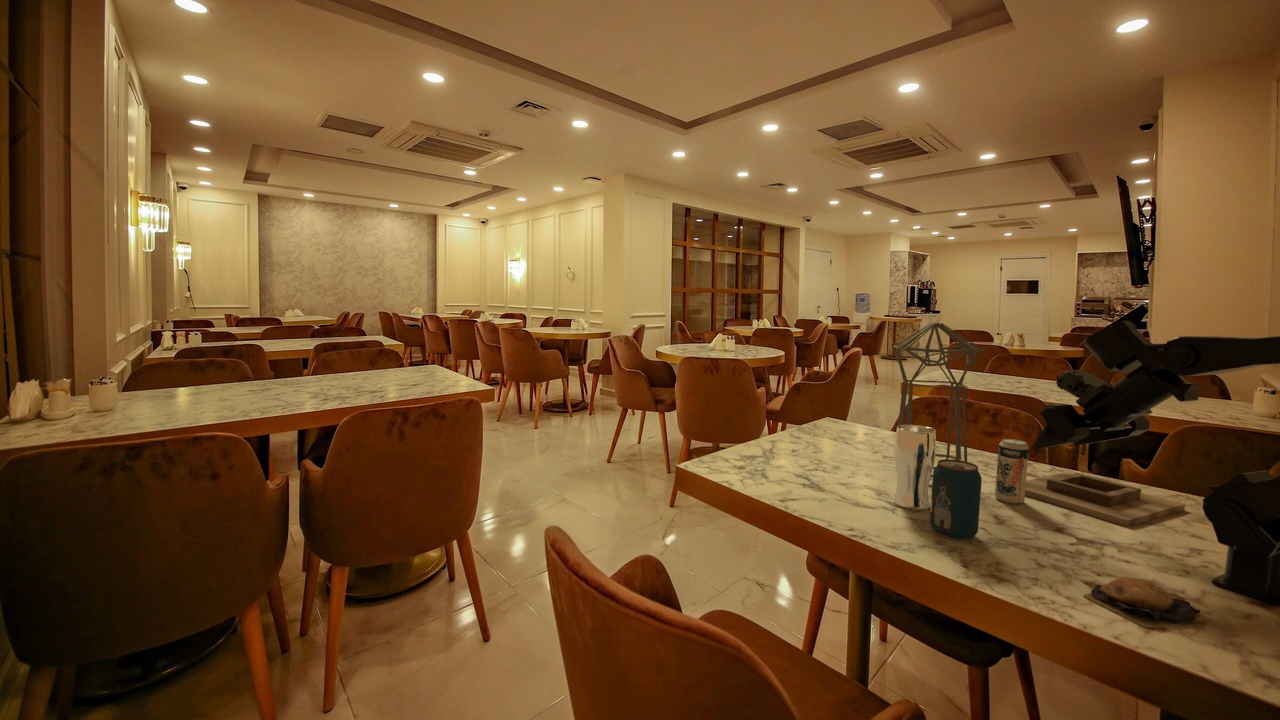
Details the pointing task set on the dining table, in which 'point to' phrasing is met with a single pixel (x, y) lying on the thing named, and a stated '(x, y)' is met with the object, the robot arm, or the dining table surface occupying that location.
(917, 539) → the dining table surface
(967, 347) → the geometric lantern
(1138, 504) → the brown square frame
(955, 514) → the soda can
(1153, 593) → the bread roll
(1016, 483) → the beer can
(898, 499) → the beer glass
